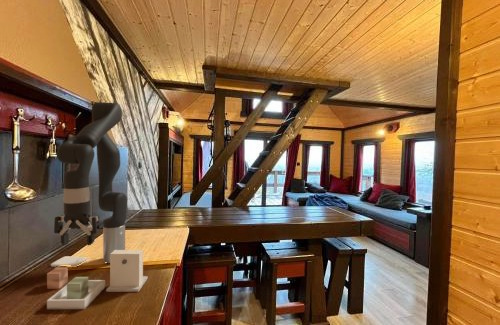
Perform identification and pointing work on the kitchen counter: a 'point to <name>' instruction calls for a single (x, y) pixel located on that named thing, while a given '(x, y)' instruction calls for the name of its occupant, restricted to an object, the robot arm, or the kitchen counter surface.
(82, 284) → the sage block
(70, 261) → the external hard drive
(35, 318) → the kitchen counter surface
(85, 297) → the tray
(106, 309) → the kitchen counter surface
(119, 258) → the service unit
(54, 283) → the terracotta block
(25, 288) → the kitchen counter surface
